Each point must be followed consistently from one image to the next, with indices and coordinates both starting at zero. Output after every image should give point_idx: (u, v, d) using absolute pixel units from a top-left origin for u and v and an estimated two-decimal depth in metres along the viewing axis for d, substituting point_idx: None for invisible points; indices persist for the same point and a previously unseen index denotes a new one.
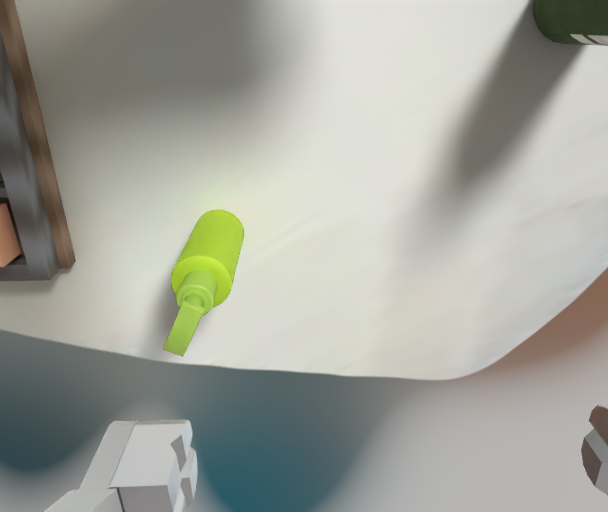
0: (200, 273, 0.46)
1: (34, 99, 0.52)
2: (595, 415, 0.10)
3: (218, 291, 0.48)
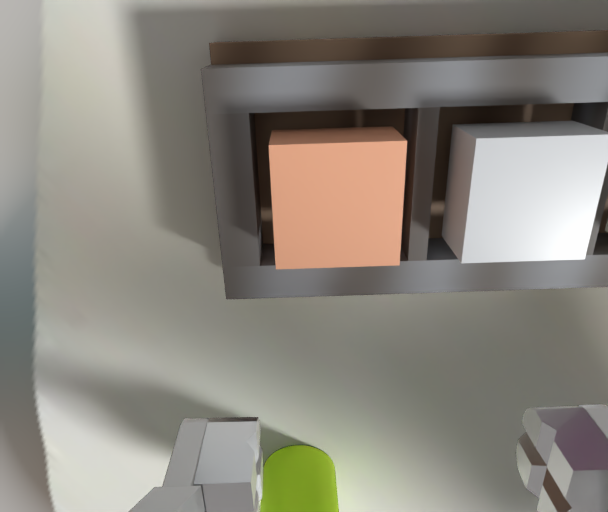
0: None
1: None
2: (526, 417, 0.10)
3: None
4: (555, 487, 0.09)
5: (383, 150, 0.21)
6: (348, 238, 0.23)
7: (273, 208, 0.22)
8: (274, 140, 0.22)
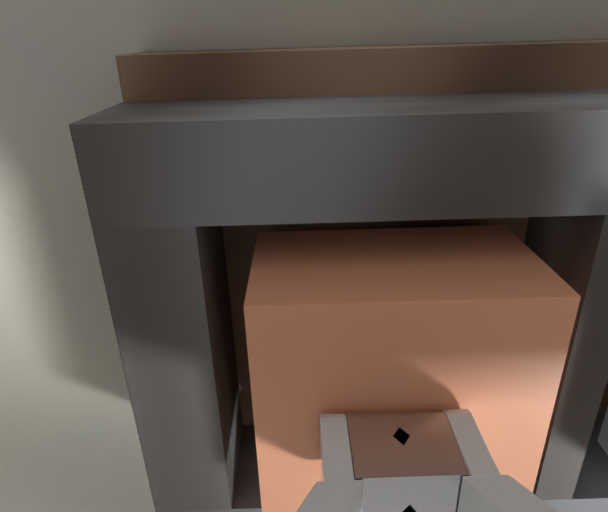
0: None
1: None
2: None
3: None
4: None
5: (520, 317, 0.09)
6: None
7: (257, 429, 0.10)
8: (259, 280, 0.10)
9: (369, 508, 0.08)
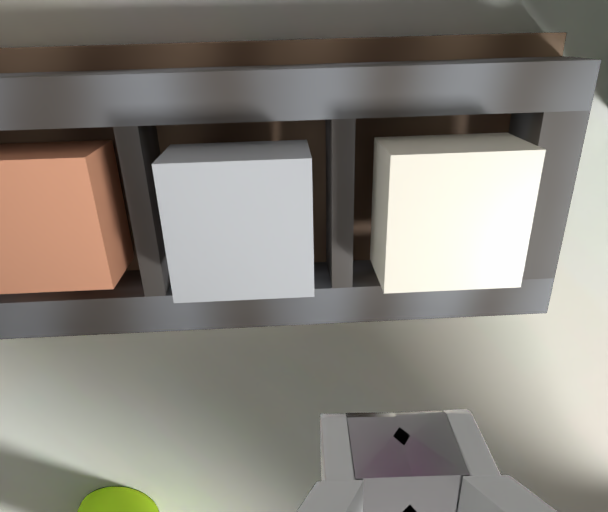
0: None
1: None
2: None
3: None
4: None
5: (61, 168, 0.20)
6: (49, 261, 0.21)
7: None
8: None
9: (369, 508, 0.08)
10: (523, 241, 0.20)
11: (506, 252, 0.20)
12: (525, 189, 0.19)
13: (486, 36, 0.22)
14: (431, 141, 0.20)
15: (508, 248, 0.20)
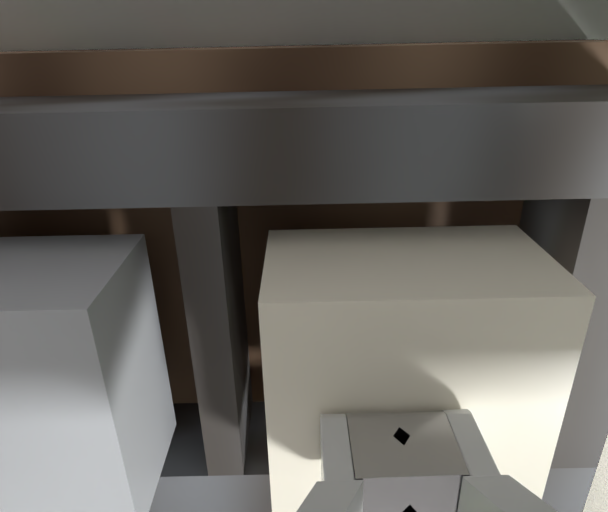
0: None
1: None
2: None
3: None
4: None
5: None
6: None
7: None
8: None
9: (369, 508, 0.08)
10: (542, 455, 0.10)
11: (508, 471, 0.10)
12: (549, 368, 0.09)
13: (483, 47, 0.12)
14: (366, 250, 0.11)
15: (512, 465, 0.10)
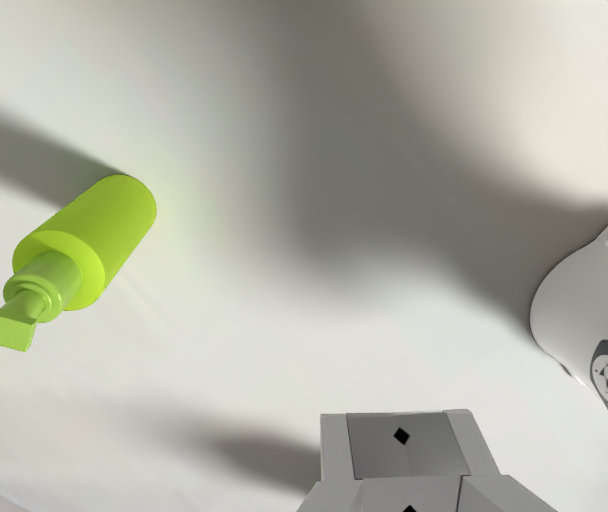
0: (77, 284, 0.31)
1: None
2: None
3: None
4: None
5: None
6: None
7: None
8: None
9: (369, 508, 0.08)
10: None
11: None
12: None
13: None
14: None
15: None
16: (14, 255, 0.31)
